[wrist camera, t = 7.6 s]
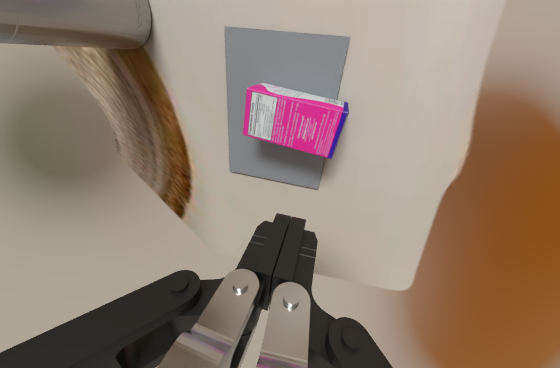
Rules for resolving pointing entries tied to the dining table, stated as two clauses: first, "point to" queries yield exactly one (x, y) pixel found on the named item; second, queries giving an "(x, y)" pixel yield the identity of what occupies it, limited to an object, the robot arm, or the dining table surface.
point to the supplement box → (294, 119)
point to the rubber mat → (283, 73)
